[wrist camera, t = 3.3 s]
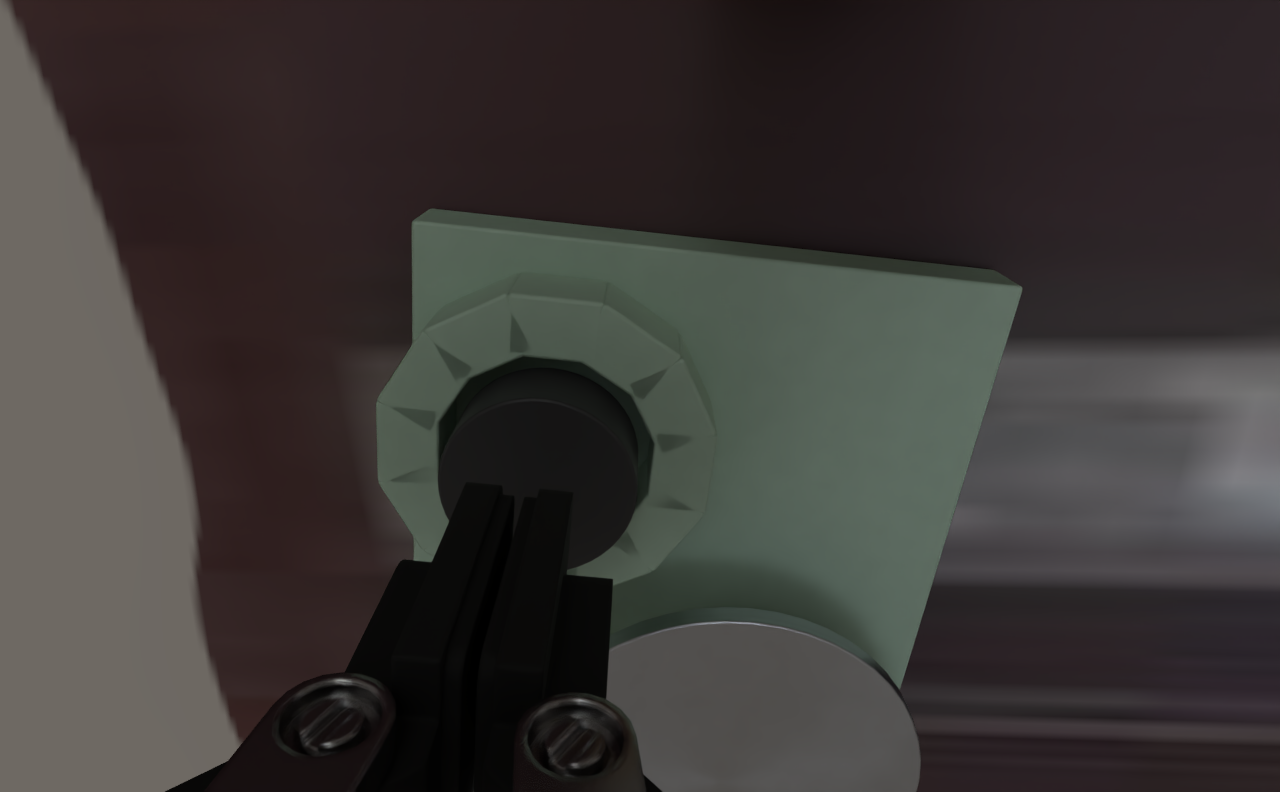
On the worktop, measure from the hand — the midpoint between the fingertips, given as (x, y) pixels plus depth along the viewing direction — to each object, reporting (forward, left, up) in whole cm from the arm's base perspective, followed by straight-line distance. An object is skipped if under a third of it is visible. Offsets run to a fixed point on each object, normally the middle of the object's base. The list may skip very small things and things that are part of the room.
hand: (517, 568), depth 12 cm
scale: (+4, +3, -6) cm, 8 cm away
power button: (0, 0, -4) cm, 4 cm away
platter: (+7, +5, -3) cm, 9 cm away
